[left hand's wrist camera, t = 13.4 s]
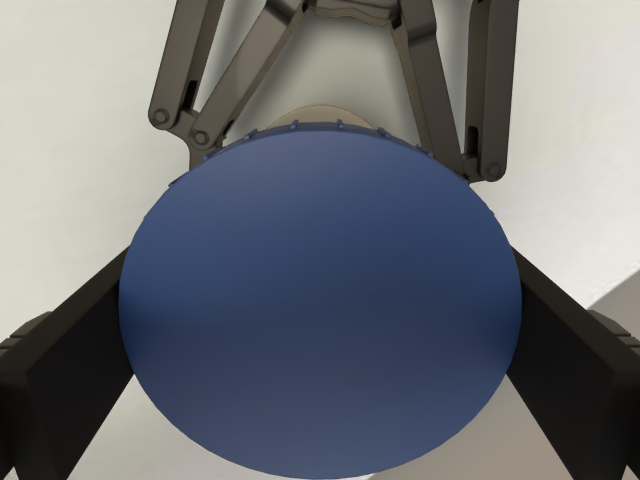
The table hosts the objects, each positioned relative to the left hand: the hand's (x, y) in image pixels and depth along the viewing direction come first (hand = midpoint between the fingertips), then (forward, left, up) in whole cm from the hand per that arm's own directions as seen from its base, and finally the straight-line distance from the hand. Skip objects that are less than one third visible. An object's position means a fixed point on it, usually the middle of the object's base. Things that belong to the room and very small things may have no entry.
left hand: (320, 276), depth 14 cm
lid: (0, 0, +3) cm, 3 cm away
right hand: (-4, -2, -8) cm, 9 cm away
